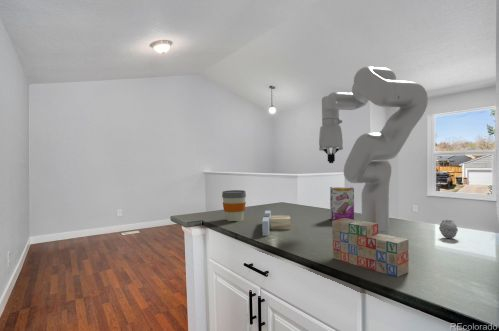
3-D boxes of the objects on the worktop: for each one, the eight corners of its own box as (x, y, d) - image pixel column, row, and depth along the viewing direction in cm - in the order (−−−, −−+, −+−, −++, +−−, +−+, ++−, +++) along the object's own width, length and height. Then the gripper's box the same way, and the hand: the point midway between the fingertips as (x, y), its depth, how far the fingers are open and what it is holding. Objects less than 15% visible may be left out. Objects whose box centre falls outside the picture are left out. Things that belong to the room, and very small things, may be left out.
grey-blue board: (268, 235, 130) (268, 220, 130) (262, 235, 131) (262, 220, 131) (270, 222, 156) (270, 209, 156) (265, 222, 157) (265, 210, 156)
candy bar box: (331, 220, 158) (331, 187, 157) (330, 218, 163) (329, 186, 162) (354, 220, 156) (354, 187, 156) (352, 218, 161) (351, 186, 161)
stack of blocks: (409, 272, 87) (409, 228, 87) (397, 278, 83) (396, 231, 83) (344, 254, 104) (344, 217, 104) (332, 258, 100) (331, 219, 100)
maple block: (290, 229, 141) (290, 218, 141) (270, 229, 142) (270, 218, 142) (290, 226, 148) (290, 215, 148) (271, 226, 149) (270, 215, 149)
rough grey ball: (454, 236, 123) (454, 218, 123) (461, 240, 116) (460, 222, 116) (436, 235, 124) (436, 217, 124) (442, 240, 118) (442, 221, 118)
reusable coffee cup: (246, 222, 159) (245, 192, 159) (221, 222, 159) (220, 193, 159) (246, 217, 171) (246, 189, 171) (223, 217, 172) (223, 190, 171)
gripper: (345, 123, 148) (346, 162, 149) (313, 124, 150) (313, 163, 150) (348, 121, 141) (349, 162, 141) (314, 122, 142) (315, 163, 143)
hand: (331, 162), depth 146 cm, fingers closed
